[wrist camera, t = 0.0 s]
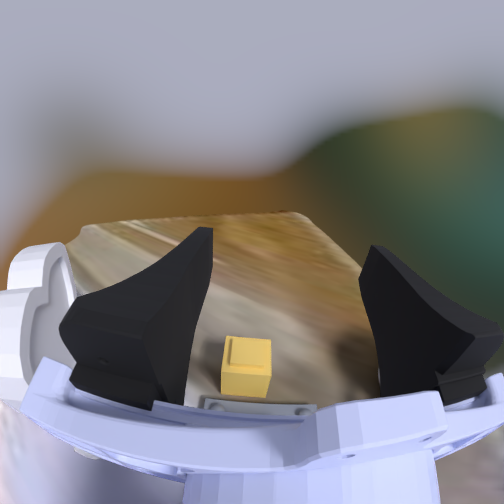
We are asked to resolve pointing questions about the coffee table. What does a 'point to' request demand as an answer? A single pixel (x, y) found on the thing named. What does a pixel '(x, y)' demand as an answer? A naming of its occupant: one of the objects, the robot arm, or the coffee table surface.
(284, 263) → the coffee table surface
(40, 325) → the heart sculpture
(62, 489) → the coffee table surface
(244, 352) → the ochre brick
